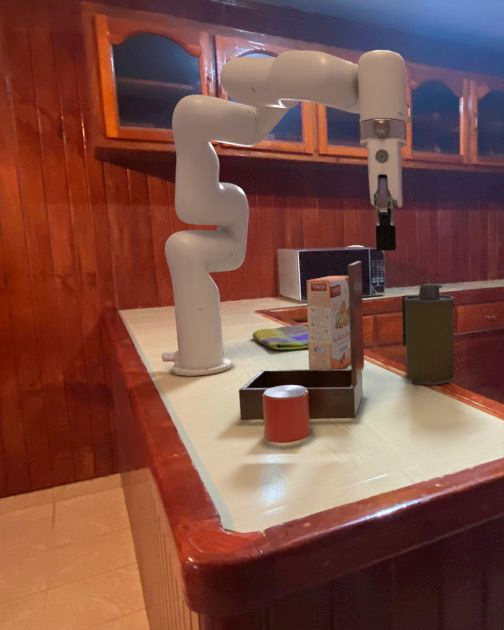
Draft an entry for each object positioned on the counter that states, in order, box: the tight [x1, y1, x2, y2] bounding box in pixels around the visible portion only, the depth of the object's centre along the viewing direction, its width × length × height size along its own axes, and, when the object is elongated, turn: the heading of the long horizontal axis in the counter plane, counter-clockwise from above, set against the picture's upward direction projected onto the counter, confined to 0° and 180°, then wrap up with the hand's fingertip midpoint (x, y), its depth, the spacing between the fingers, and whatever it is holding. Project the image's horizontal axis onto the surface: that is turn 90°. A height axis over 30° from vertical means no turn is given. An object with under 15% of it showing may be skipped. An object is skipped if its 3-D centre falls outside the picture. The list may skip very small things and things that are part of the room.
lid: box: [347, 260, 365, 386], centre depth 90 cm, size 19×13×1 cm
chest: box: [238, 368, 364, 421], centre depth 92 cm, size 19×13×6 cm
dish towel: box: [252, 324, 309, 351], centre depth 152 cm, size 18×24×3 cm
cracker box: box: [306, 275, 351, 370], centre depth 120 cm, size 14×6×21 cm, turn 168°
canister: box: [401, 283, 456, 386], centre depth 111 cm, size 11×10×20 cm
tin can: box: [263, 385, 311, 444], centre depth 79 cm, size 7×7×8 cm
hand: (386, 250), depth 88 cm, fingers closed
